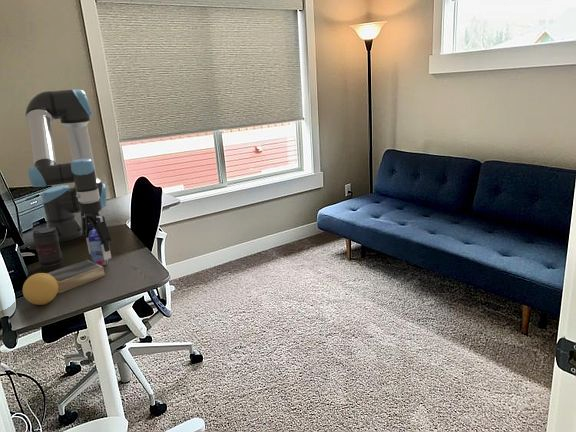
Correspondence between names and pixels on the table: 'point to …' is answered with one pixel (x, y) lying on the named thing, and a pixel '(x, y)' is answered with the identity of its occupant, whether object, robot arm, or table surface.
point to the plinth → (77, 274)
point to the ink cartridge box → (96, 248)
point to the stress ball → (40, 288)
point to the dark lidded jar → (48, 247)
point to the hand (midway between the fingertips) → (100, 255)
